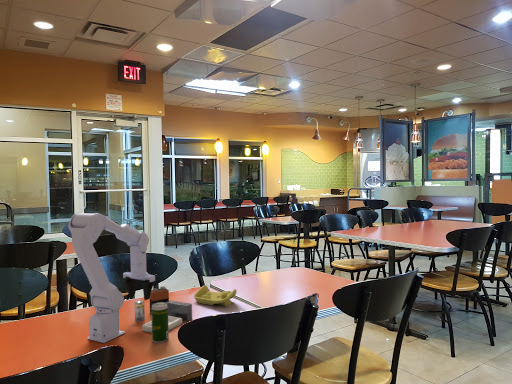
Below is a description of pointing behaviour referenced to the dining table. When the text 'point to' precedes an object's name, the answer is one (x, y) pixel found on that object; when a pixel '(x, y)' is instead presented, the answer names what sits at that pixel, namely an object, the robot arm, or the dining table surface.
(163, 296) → the battery
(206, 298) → the plastic component
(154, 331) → the beer can
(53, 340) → the dining table surface
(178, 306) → the block
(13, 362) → the dining table surface
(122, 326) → the dining table surface
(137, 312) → the silver cylindrical container
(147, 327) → the tray
